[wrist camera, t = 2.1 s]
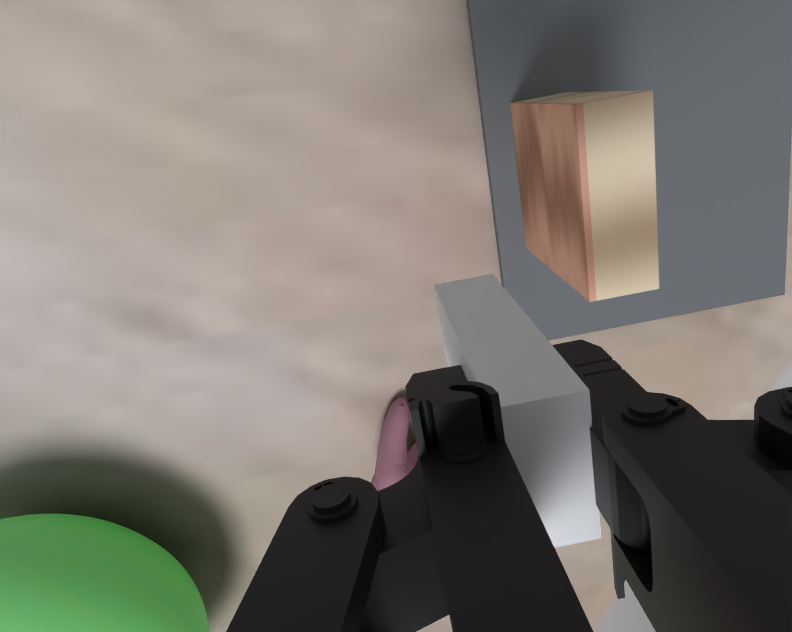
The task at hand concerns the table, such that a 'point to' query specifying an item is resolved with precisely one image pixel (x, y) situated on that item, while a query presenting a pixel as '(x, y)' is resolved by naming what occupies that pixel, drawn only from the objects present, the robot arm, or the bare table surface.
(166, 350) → the table surface
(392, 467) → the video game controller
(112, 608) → the toy bird
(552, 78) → the rubber mat
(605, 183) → the oak tile
